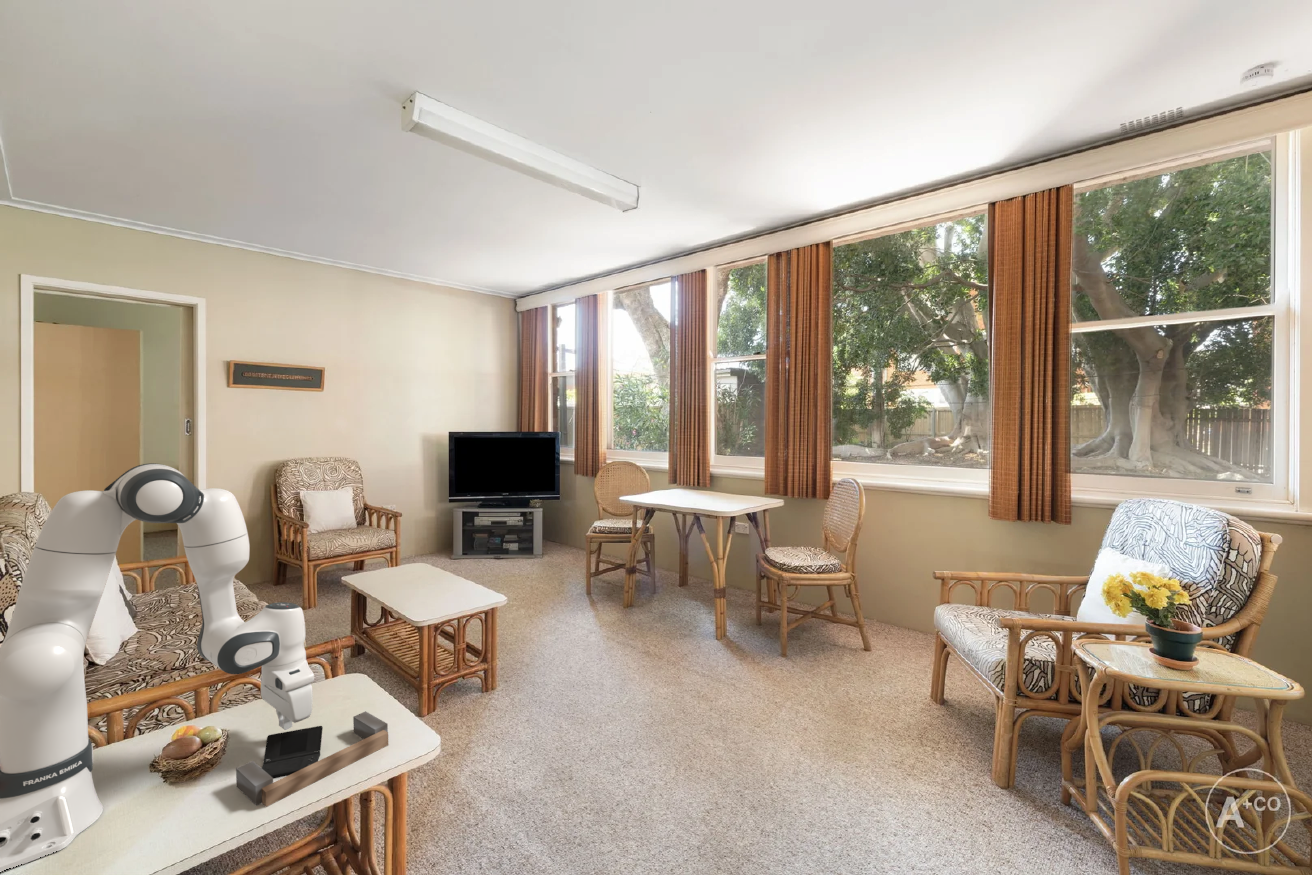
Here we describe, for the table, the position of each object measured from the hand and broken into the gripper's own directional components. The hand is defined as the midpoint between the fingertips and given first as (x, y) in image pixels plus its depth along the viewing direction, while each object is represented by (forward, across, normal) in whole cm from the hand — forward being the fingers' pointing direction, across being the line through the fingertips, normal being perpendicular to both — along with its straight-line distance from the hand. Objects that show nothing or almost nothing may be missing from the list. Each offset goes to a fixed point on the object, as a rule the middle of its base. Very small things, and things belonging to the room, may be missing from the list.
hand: (285, 726), depth 131 cm
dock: (+3, +17, +1) cm, 17 cm away
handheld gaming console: (+4, +11, -3) cm, 12 cm away
